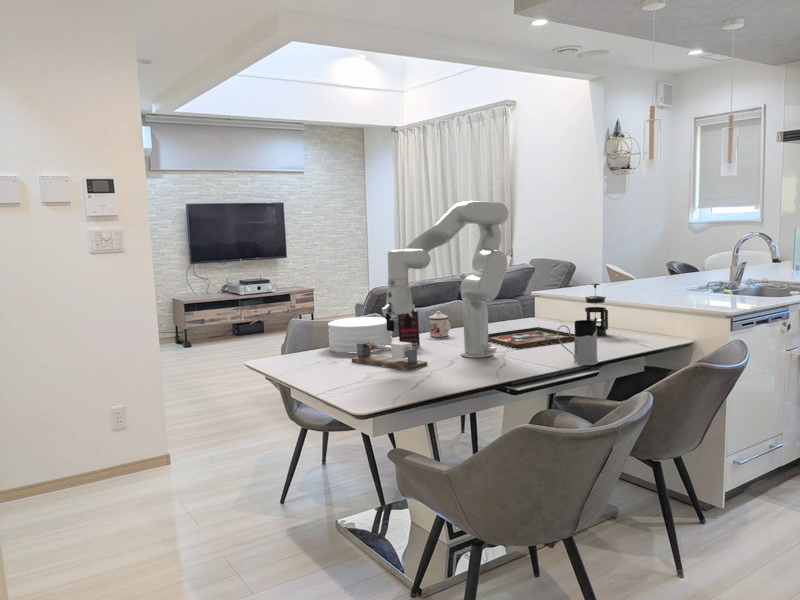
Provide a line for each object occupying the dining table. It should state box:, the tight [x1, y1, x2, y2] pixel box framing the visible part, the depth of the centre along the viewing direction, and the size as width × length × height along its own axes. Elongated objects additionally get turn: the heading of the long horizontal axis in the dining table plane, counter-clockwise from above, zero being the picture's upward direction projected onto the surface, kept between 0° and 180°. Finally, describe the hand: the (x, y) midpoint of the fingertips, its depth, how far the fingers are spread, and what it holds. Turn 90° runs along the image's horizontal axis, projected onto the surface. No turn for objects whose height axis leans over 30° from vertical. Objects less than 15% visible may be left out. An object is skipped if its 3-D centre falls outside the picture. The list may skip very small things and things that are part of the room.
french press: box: [584, 283, 609, 337], centre depth 283 cm, size 12×9×23 cm
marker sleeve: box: [390, 341, 412, 359], centre depth 236 cm, size 6×5×5 cm
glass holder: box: [556, 319, 599, 366], centre depth 229 cm, size 9×14×15 cm, turn 79°
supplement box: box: [397, 309, 421, 349], centre depth 273 cm, size 9×5×16 cm, turn 84°
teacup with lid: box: [428, 310, 451, 338], centre depth 298 cm, size 12×9×12 cm
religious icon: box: [488, 326, 575, 349], centre depth 280 cm, size 38×35×3 cm
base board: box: [351, 353, 428, 371], centre depth 241 cm, size 30×10×2 cm, turn 49°
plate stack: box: [327, 316, 393, 353], centre depth 279 cm, size 28×28×12 cm
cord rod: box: [356, 342, 418, 364], centre depth 241 cm, size 28×4×6 cm, turn 49°
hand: (399, 329), depth 235 cm, fingers open, 9 cm apart
